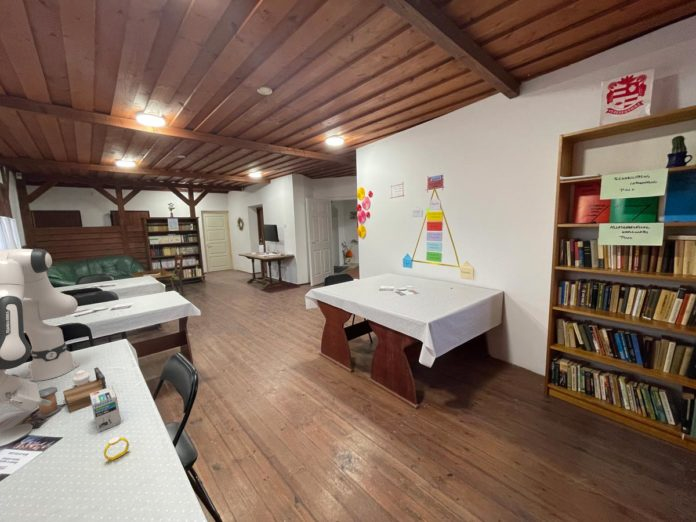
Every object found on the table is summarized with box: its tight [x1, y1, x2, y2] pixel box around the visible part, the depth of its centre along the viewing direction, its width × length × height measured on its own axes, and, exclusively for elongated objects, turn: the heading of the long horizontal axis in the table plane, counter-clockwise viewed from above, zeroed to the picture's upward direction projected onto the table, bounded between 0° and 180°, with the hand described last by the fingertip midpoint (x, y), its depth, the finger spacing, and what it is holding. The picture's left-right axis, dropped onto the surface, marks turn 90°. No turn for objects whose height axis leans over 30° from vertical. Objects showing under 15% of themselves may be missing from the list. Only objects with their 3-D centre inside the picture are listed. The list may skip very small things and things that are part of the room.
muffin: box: [71, 369, 91, 387], centre depth 132 cm, size 6×6×7 cm
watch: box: [103, 436, 130, 461], centre depth 89 cm, size 6×3×6 cm, turn 138°
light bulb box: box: [90, 385, 122, 433], centre depth 105 cm, size 11×7×11 cm, turn 47°
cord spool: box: [37, 386, 62, 419], centre depth 112 cm, size 6×6×9 cm
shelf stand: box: [62, 366, 107, 413], centre depth 120 cm, size 14×12×10 cm
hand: (49, 400), depth 112 cm, fingers closed on cord spool, 5 cm apart
